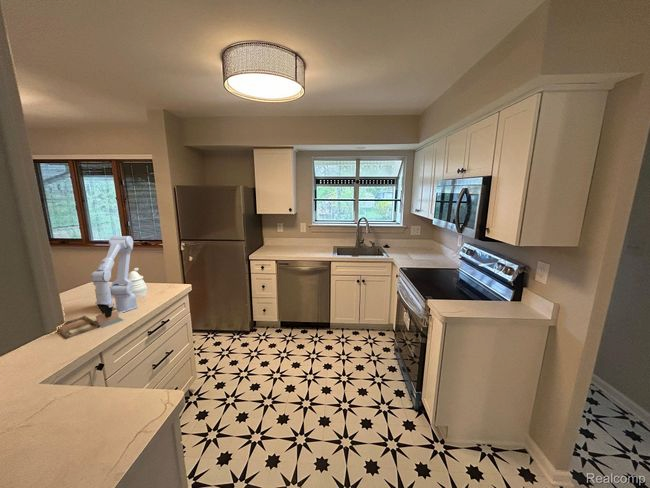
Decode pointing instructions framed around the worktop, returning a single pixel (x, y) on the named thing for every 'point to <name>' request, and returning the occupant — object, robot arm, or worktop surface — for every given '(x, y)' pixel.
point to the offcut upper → (80, 328)
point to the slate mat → (110, 322)
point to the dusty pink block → (103, 319)
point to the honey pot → (137, 283)
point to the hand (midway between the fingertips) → (107, 316)
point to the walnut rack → (78, 327)
